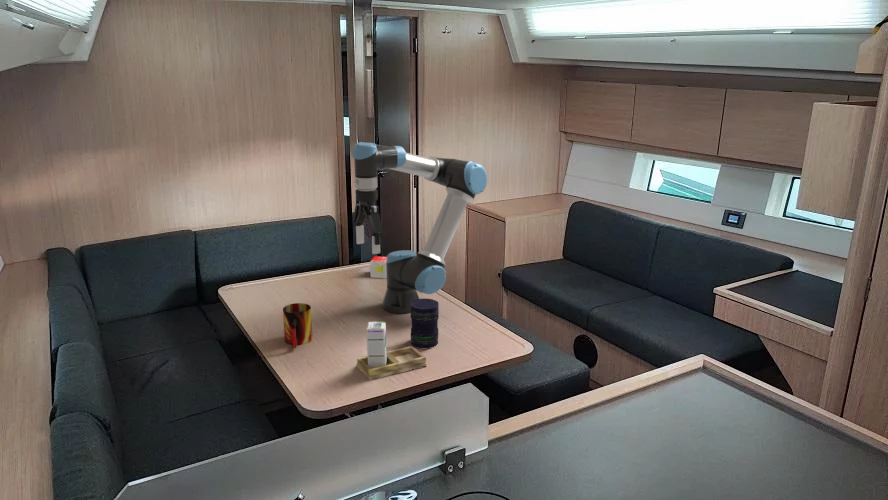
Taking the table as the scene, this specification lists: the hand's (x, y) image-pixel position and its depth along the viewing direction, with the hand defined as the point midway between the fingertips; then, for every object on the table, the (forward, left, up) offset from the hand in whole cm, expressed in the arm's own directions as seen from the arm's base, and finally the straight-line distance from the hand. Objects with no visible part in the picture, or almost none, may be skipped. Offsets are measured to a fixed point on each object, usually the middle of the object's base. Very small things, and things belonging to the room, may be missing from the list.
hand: (368, 248), depth 227 cm
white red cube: (-31, -58, -33) cm, 74 cm away
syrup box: (+9, +27, -32) cm, 43 cm away
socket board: (+4, +27, -32) cm, 43 cm away
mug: (+24, -5, -33) cm, 41 cm away
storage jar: (-14, +16, -33) cm, 39 cm away
